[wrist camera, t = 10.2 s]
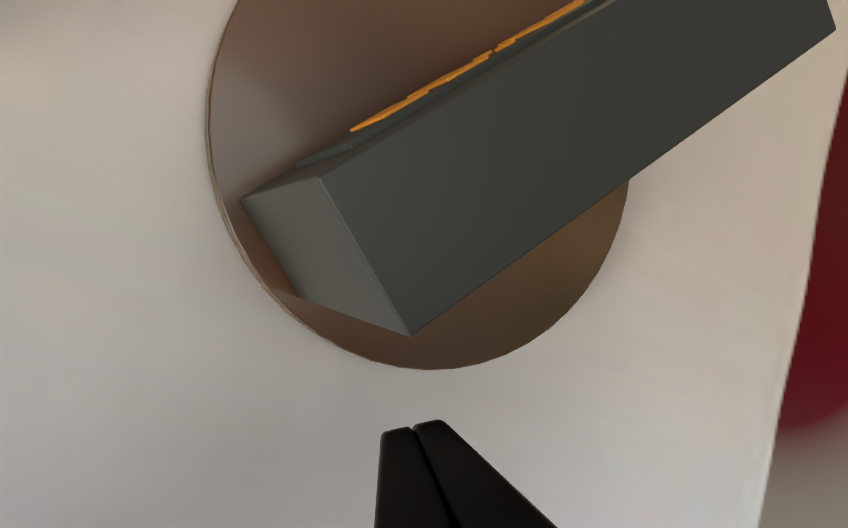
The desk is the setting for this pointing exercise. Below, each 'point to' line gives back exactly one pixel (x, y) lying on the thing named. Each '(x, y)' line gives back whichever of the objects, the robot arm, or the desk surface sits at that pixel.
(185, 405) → the desk surface
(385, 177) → the clock
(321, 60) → the shallow brown dish
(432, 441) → the robot arm
